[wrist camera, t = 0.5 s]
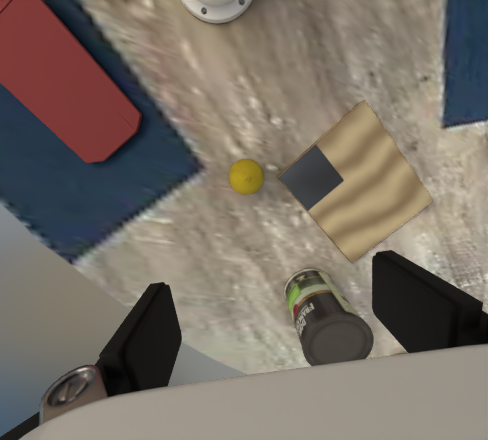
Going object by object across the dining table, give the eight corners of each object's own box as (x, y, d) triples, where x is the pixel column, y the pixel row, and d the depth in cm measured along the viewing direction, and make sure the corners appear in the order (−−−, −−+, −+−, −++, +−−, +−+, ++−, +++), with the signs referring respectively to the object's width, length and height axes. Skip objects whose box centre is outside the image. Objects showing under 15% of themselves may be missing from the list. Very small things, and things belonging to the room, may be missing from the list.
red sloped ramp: (154, 122, 41) (19, -35, 31) (146, 121, 36) (-14, -63, 27) (106, 165, 42) (-36, 27, 33) (93, 169, 38) (-76, 12, 29)
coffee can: (277, 306, 47) (293, 366, 34) (293, 262, 45) (317, 308, 31) (323, 317, 48) (357, 379, 35) (341, 274, 46) (385, 323, 32)
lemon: (263, 161, 39) (269, 161, 32) (258, 192, 41) (263, 200, 33) (231, 156, 39) (230, 156, 31) (227, 188, 41) (225, 195, 33)
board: (277, 176, 40) (278, 177, 39) (360, 101, 37) (366, 99, 36) (348, 260, 45) (352, 264, 43) (427, 199, 42) (435, 200, 40)
